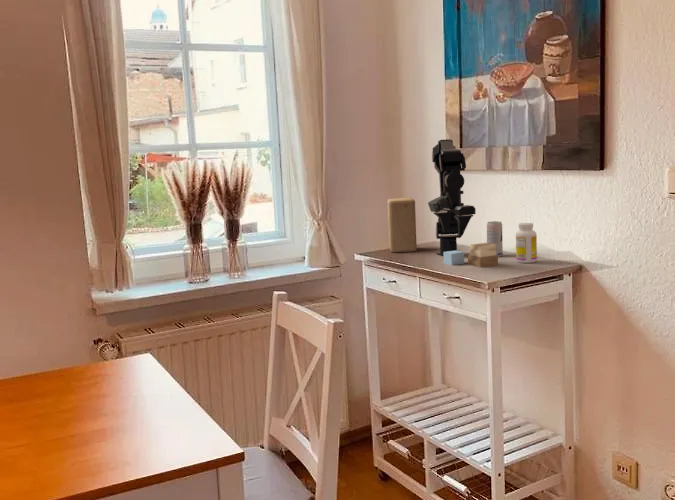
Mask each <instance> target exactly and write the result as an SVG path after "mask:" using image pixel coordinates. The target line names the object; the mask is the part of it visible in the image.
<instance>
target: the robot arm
mask: <svg viewBox="0 0 675 500" xmlns="http://www.w3.org/2000/svg"><path fill="white" fill-rule="evenodd" d="M437 141H438V142H437V144H436V145H434V146H433V147H432V152H431V160H432V163H433V164H434V165H433V166H434V170H436V172H437V174H438V177H439V188H440V189H439V192H440V196H437V197H436V198H434V199H432V200H430V201H428V202H427V204H428V207H429V210H430V212H431V213H433V215H435V216H436V217H437V221H436V224H435V238H436V240H439V252H436V255H439V256H443V257H444V254H443V252H447V251H455V250H456V251H458V244H457V239H461V238H462V236H463V235H464V233H465V231H466V229H467V227H468V225H469V223H470V221H471V219H472V217H474V215H476V207H475V206H474V205H470V204H464V203H465V202H462V195H463V194H464V190H462V188H463V187H464V184H465V177H464V176H463V175H462V174H461V171H463V172H464V171H465V172H466V168H467V164H466V163H467V161H466V157H465V155H464V153H462V150H460V149H459V148H456V146H455V145H454V142H453V139H450V138H449V139H448V138H447V139H439V140H437Z"/></svg>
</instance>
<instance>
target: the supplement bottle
mask: <svg viewBox="0 0 675 500" xmlns="http://www.w3.org/2000/svg"><path fill="white" fill-rule="evenodd" d="M533 228H534V222H519V223H518V229H519V230H518V231H516V233H515V254H516V255H515V256H516V258H515V260H516V262H517V263H520V264H530V263H536V262H537V260H538V254H537V253H538V249H537V248H538V247H537V244H538V243H537V237H538V236H537V231H535V230H534V229H533Z"/></svg>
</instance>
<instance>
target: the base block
mask: <svg viewBox="0 0 675 500" xmlns="http://www.w3.org/2000/svg"><path fill="white" fill-rule="evenodd" d="M467 264H468V265H470V266H474V267H478V268H485V267H491V266H498V265H499V257H498V255H494V256H487V257H477V256H473V255H470V254H467Z"/></svg>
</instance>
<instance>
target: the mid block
mask: <svg viewBox="0 0 675 500" xmlns="http://www.w3.org/2000/svg"><path fill="white" fill-rule="evenodd" d="M469 250H470V252H469V255H473V256H477V257H487V256H494V255H496V245H495V244H489V243H487V242H479V243H474V244H473V243H472V244H470V245H469Z"/></svg>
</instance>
